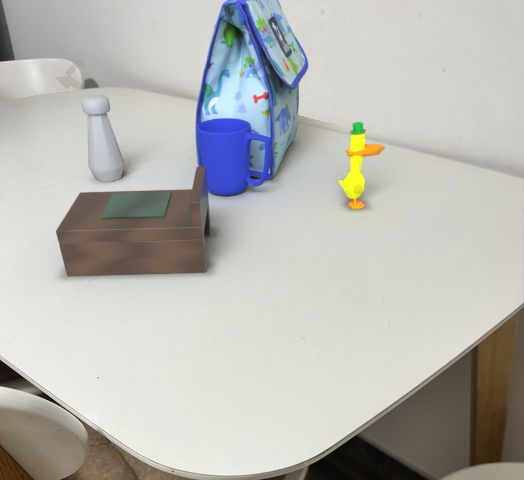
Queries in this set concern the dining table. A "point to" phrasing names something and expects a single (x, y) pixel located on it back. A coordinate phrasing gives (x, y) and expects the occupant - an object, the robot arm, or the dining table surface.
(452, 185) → the dining table surface
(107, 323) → the dining table surface
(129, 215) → the toy bed
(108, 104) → the salt shaker
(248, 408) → the dining table surface
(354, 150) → the toy figure
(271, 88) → the lunch bag
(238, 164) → the mug
